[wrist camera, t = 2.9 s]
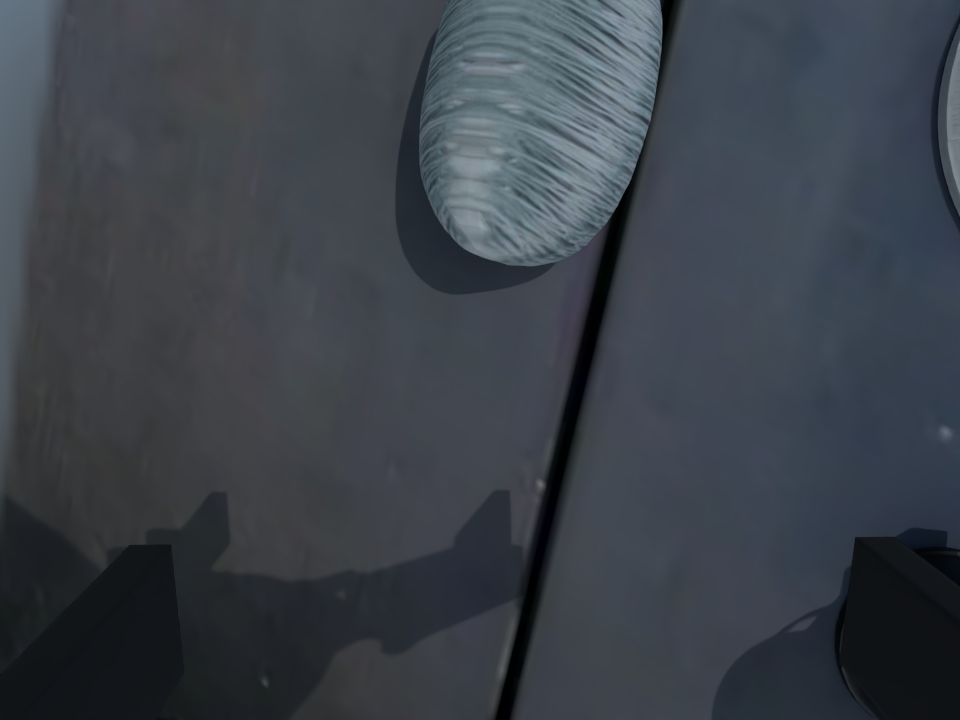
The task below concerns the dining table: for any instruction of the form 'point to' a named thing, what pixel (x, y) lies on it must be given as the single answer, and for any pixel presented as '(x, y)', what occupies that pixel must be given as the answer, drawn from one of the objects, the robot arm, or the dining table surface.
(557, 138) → the grey streaked ellipsoid
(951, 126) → the ring
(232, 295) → the dining table surface
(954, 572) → the french press
